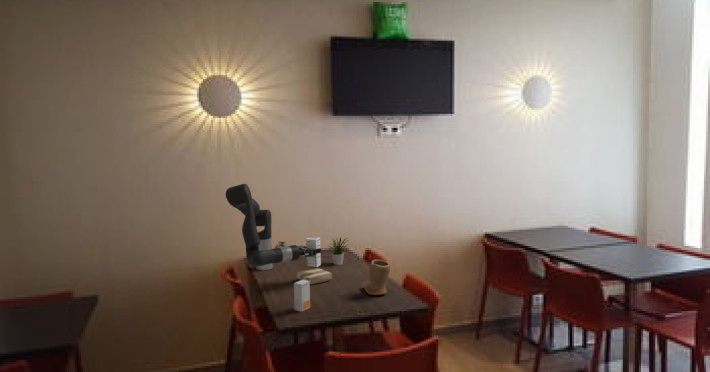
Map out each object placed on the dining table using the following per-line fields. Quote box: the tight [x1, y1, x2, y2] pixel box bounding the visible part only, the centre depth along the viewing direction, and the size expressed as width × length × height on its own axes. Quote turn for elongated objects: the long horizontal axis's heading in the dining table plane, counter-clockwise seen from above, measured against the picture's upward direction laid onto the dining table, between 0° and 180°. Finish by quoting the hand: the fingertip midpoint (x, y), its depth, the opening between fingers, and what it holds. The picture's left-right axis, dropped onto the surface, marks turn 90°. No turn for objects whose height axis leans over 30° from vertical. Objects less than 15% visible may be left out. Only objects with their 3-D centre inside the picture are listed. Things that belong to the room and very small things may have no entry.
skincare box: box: [293, 279, 311, 313], centre depth 209 cm, size 6×4×12 cm
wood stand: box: [296, 267, 333, 286], centre depth 250 cm, size 13×13×4 cm
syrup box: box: [305, 236, 322, 268], centre depth 249 cm, size 6×6×14 cm
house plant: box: [328, 235, 350, 266], centre depth 280 cm, size 14×14×16 cm
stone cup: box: [362, 259, 391, 296], centre depth 230 cm, size 15×12×15 cm
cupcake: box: [274, 241, 289, 249], centre depth 297 cm, size 10×10×10 cm
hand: (316, 248), depth 250 cm, fingers closed on syrup box, 8 cm apart
